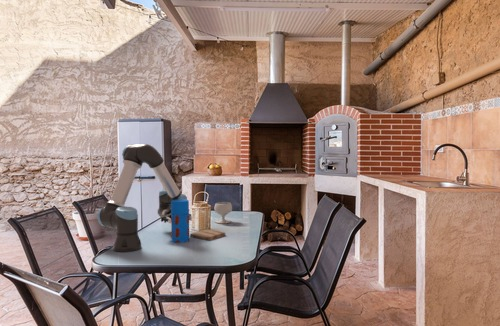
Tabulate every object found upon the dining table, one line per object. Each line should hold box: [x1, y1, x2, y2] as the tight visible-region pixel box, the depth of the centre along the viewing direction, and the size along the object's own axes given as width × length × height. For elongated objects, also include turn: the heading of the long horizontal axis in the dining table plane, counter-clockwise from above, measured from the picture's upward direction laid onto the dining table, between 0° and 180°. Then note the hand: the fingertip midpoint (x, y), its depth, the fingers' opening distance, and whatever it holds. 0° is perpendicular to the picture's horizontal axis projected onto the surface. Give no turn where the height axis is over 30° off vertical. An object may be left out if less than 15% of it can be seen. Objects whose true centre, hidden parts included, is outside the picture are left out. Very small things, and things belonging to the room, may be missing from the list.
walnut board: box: [189, 228, 226, 241], centre depth 227 cm, size 16×16×2 cm
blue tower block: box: [170, 199, 190, 244], centre depth 216 cm, size 11×11×25 cm
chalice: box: [213, 201, 233, 224], centre depth 271 cm, size 14×14×15 cm
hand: (181, 219), depth 216 cm, fingers open, 13 cm apart
